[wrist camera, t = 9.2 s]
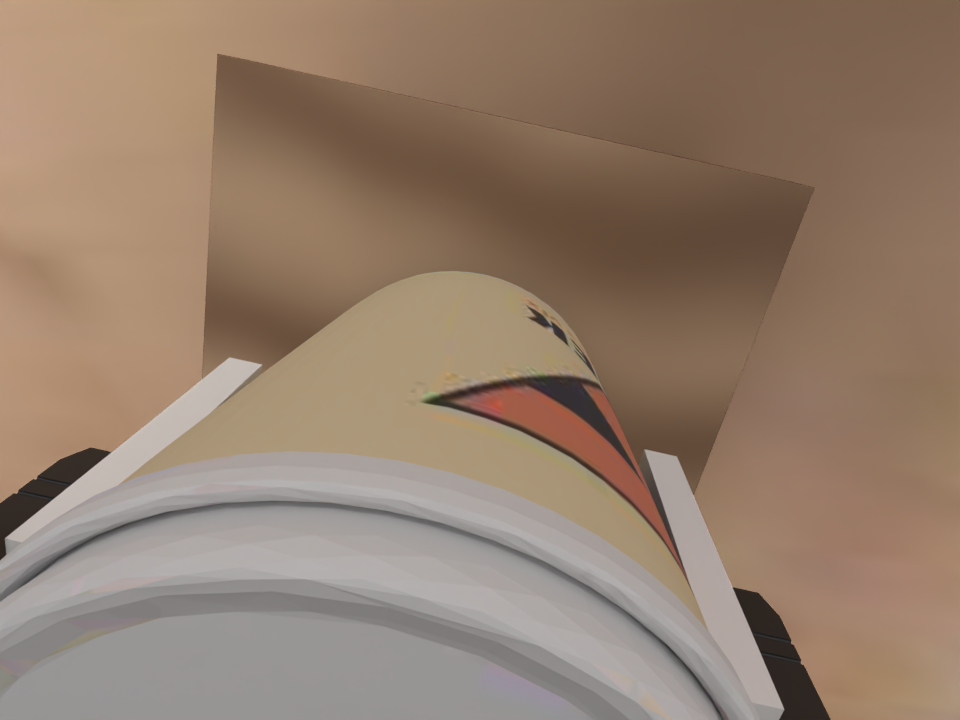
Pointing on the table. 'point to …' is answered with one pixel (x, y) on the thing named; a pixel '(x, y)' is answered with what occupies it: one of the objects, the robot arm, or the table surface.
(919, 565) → the table surface
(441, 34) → the table surface
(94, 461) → the robot arm
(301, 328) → the footstool
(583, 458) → the coffee cup
